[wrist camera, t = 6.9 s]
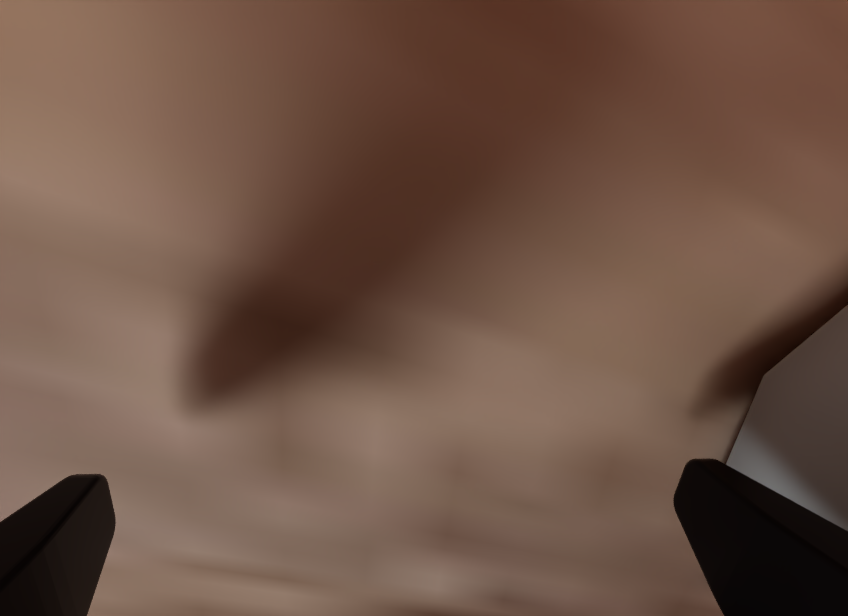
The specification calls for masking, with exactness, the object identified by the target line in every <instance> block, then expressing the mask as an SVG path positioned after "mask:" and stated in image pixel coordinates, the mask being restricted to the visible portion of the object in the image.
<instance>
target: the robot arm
mask: <svg viewBox="0 0 848 616" xmlns="http://www.w3.org/2000/svg"><path fill="white" fill-rule="evenodd" d="M673 501H674V508H675V511H676V514H677V516H678V518H679V520H680V522H681V525H682V527H683V529H684V531H685V534H686V536H687V538H688V540H689V542H690V545H691V547H692V549H693V551H694V553H695V556H696V558H697V560H698V562H699V565H700V567H701V569H702V571H703V573H704V576H705V578H706V580H707V582H708V584H709V587H710V589H711V591H712V593H713V595H714V597H715V599H716V601H717V603H718V605H719V607H720V609H721V611H722V613H723V614H724V616H848V531H847V530H845V529H843V528H841V527H839V526H838V525H836V524H834V523H832V522H830V521H828V520H827V519H825V518H823V517H821V516H819V515H817V514H816V513H814V512H812V511H810V510H808V509H806V508H805V507H803V506H801V505H799V504H797V503H795V502H794V501H792V500H790V499H788V498H786V497H784V496H783V495H781V494H779V493H777V492H775V491H773V490H772V489H770V488H768V487H766V486H764V485H762V484H761V483H759V482H757V481H755V480H753V479H751V478H750V477H748V476H746V475H744V474H742V473H741V472H739V471H737V470H735V469H733V468H731V467H730V466H728V465H726V464H724V463H722V462H720V461H718V460H716V459H692V460H690V461H689V462H688V463H687V464H686V465H685V468H684V470H683V473H682V476H681V478H680V481H679V483H678V486H677V489H676V491H675V494H674V500H673ZM115 523H116V522H115V513H114V508H113V504H112V499H111V495H110V490H109V485H108V482H107V479H106V478H105V476H103V475H101V474H76V475H71V476H68V477H67V478H65V479H63V480H62V481H60V482H59V483H57V484H56V485H54V486H53V487H51V488H50V489H48V490H47V491H45V492H44V493H42V494H41V495H39V496H38V497H37V498H35V499H34V500H32V501H31V502H29V503H28V504H26V505H25V506H23V507H22V508H20V509H19V510H17V511H16V512H14V513H13V514H11V515H10V516H8V517H7V518H5V519H4V520H3V521H1V522H0V616H87V614H88V611H89V608H90V605H91V602H92V599H93V596H94V593H95V590H96V587H97V584H98V581H99V578H100V574H101V571H102V568H103V565H104V562H105V559H106V556H107V553H108V550H109V547H110V544H111V541H112V538H113V535H114V531H115Z"/></svg>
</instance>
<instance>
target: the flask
mask: <svg viewBox="0 0 848 616" xmlns="http://www.w3.org/2000/svg"><path fill="white" fill-rule="evenodd" d="M726 465H728V466H730V467H731V468H733V469H735V470H737V471H739V472H741V473H742V474H744V475H746V476H748V477H750V478H751V479H753V480H755V481H757V482H759V483H761V484H762V485H764V486H766V487H768V488H770V489H772V490H773V491H775V492H777V493H779V494H781V495H783V496H784V497H786V498H788V499H790V500H792V501H794V502H795V503H797V504H799V505H801V506H803V507H805V508H806V509H808V510H810V511H812V512H814V513H816V514H817V515H819V516H821V517H823V518H825V519H827V520H828V521H830V522H832V523H834V524H836V525H838V526H839V527H841V528H843V529H845V530H847V531H848V305H847V306H846V307H845V308H843V309H842V310H841V311H840V312H839V313H837V314H836V315H835V316H834V317H833V318H831V319H830V320H829V321H828V322H827V323H825V324H824V325H823V326H822V327H821V328H819V329H818V330H817V331H816V332H815V333H813V334H812V335H811V336H810V337H809V338H808V339H806V340H805V341H804V342H803V343H802V344H800V345H799V346H798V347H797V348H796V349H794V350H793V351H792V352H791V353H790V354H788V355H787V356H786V357H785V358H784V359H782V360H781V361H780V362H779V363H778V364H776V365H775V366H774V367H773V368H772V369H771V370H769V371H768V372H767V373H766V374H765V375H764V376H763V378H762V380H761V383H760V385H759V388H758V390H757V392H756V395H755V397H754V399H753V402H752V404H751V406H750V409H749V411H748V413H747V416H746V418H745V421H744V423H743V425H742V428H741V430H740V432H739V435H738V437H737V439H736V442H735V444H734V446H733V449H732V451H731V454H730V456H729V458H728V461H727V463H726Z"/></svg>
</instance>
